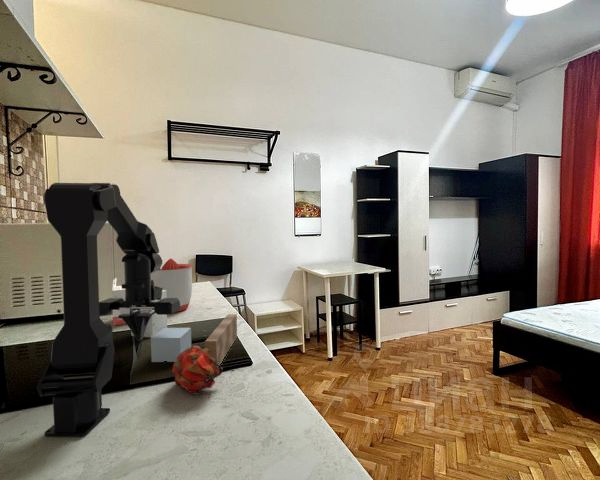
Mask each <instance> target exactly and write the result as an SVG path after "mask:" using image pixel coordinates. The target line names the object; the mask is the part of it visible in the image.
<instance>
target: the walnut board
mask: <svg viewBox="0 0 600 480" xmlns="http://www.w3.org/2000/svg"><path fill="white" fill-rule="evenodd" d="M236 338H237V339H238V317H237V314H234V313H233V314H231V313H229V314H227V315H226V316H225V318H224V319H223V320H221V322H220V323H219V324H218V326H217V327H216V328H215V329H214V330H213V331H212V333H210V335H209V336H208V337H207V339H206V340H205V341H204V347H205V348H207V349H209V350H210V352H209V354H208V355H211V356H213V357H214V358H215V360H216V361H215V363H217V364H218V365H219V366H220V364H221V363H222V361H223V359H224V357H225V356H226V354H227V352H228V351H229V349H230V347H231V346H232V344H233V343H234V341H235V340H236V341H237V339H236ZM236 341H235V342H236ZM234 344H235V343H234ZM234 344H233V345H234ZM232 347H233V346H232ZM230 350H231V349H230ZM229 352H230V351H229ZM227 355H228V354H227ZM226 357H227V356H226ZM224 360H225V359H224ZM223 362H224V361H223ZM222 364H223V363H222ZM222 364H221V365H222ZM213 365H214V366H215V367H217V368H218V367H219V366H217V365H216V364H214V363H213ZM220 367H221V366H220Z"/></svg>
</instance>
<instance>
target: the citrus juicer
mask: <svg viewBox="0 0 600 480" xmlns="http://www.w3.org/2000/svg"><path fill="white" fill-rule="evenodd" d="M192 267H193V265H192V264H189V263H178V262H176V261H175V260H174V259H173V258H169V259H168V260H166V262H165V263H164V264H162V266H161V267H160V269H159V270H157V271H155V272H153V273H151V280H153V282H154V286H157V287H160V288H163V290H166V295H167V298H178V300H179V301H180V309H178V310H177V311H175V312H174V313H177V312H182V311H185V310H187V309H188V308H189V305H190V302H191V299H192V293H193V278H192V277H193V275H192V272H193V270H192Z"/></svg>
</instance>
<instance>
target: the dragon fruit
mask: <svg viewBox="0 0 600 480" xmlns="http://www.w3.org/2000/svg"><path fill="white" fill-rule="evenodd" d="M209 352H210V350H209V349H207V348H204V347H203V348H201V347H200V346H199V345H193V346H192V345H191V348H187V349H186V350H185V351H183V352H182V353H180V354H179V356H178V357H177V362H173V365H172V370H171V372H172V373H174V375H175V376H174V383H175V386H176V388H177V389H181V388H182V387H183V388H185V389H186V391H187V392H189V393H191V395H196V396H197V395H203V393H202V392H201V388H203V389H207V388H208V389H212V387H213V386H214V385H215V384H216V381H215V380H214V379H216V378H218V377H219V376H221V375H222V373H223V369H224V368H223V366H220V368H217V367H215V366H214V365H213V363H214V364H216V365H217V366H219V365H218V364H217V363H215V361H216V360H215V358H214V357H213V356H211V355H208V354H209Z"/></svg>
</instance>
